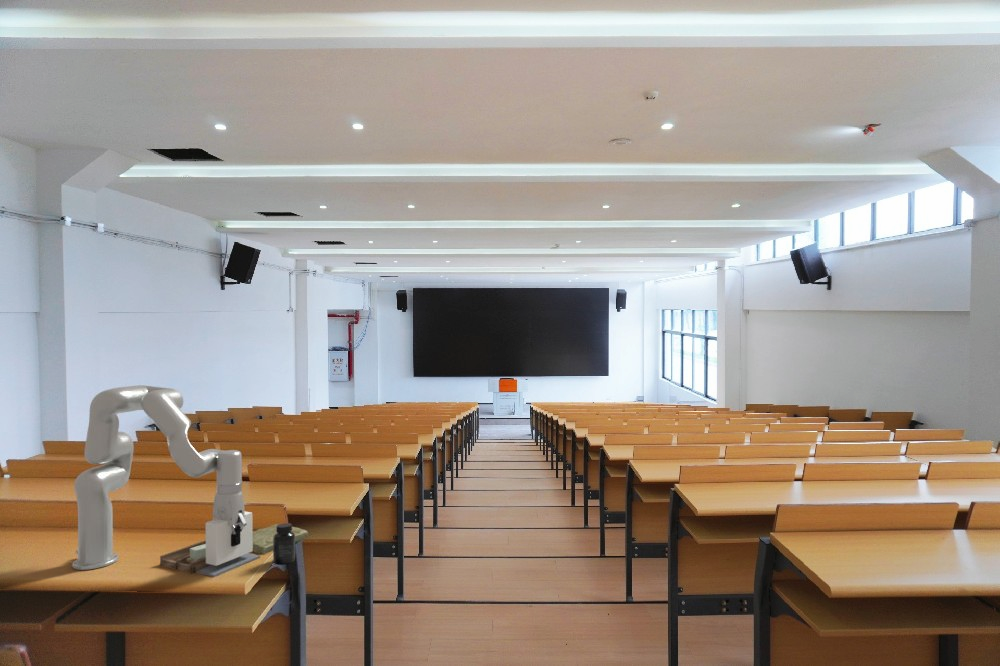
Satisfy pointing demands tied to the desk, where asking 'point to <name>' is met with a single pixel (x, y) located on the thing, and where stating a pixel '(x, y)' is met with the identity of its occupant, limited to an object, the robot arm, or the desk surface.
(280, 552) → the supplement bottle
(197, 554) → the offcut upper
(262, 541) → the decorative tile
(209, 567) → the mat
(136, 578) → the desk surface
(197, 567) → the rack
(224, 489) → the robot arm
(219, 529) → the off-white rectangular prism
